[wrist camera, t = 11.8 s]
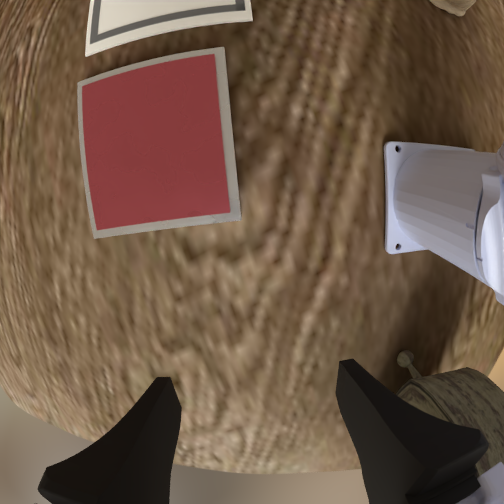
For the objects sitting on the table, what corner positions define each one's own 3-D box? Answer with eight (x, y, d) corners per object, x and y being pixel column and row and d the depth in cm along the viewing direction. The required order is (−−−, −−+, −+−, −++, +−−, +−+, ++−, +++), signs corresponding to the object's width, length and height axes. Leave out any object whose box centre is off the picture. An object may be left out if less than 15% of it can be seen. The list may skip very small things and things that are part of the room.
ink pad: (225, 53, 15) (224, 44, 13) (241, 216, 18) (241, 221, 17) (85, 85, 15) (74, 81, 13) (101, 234, 18) (91, 240, 17)
